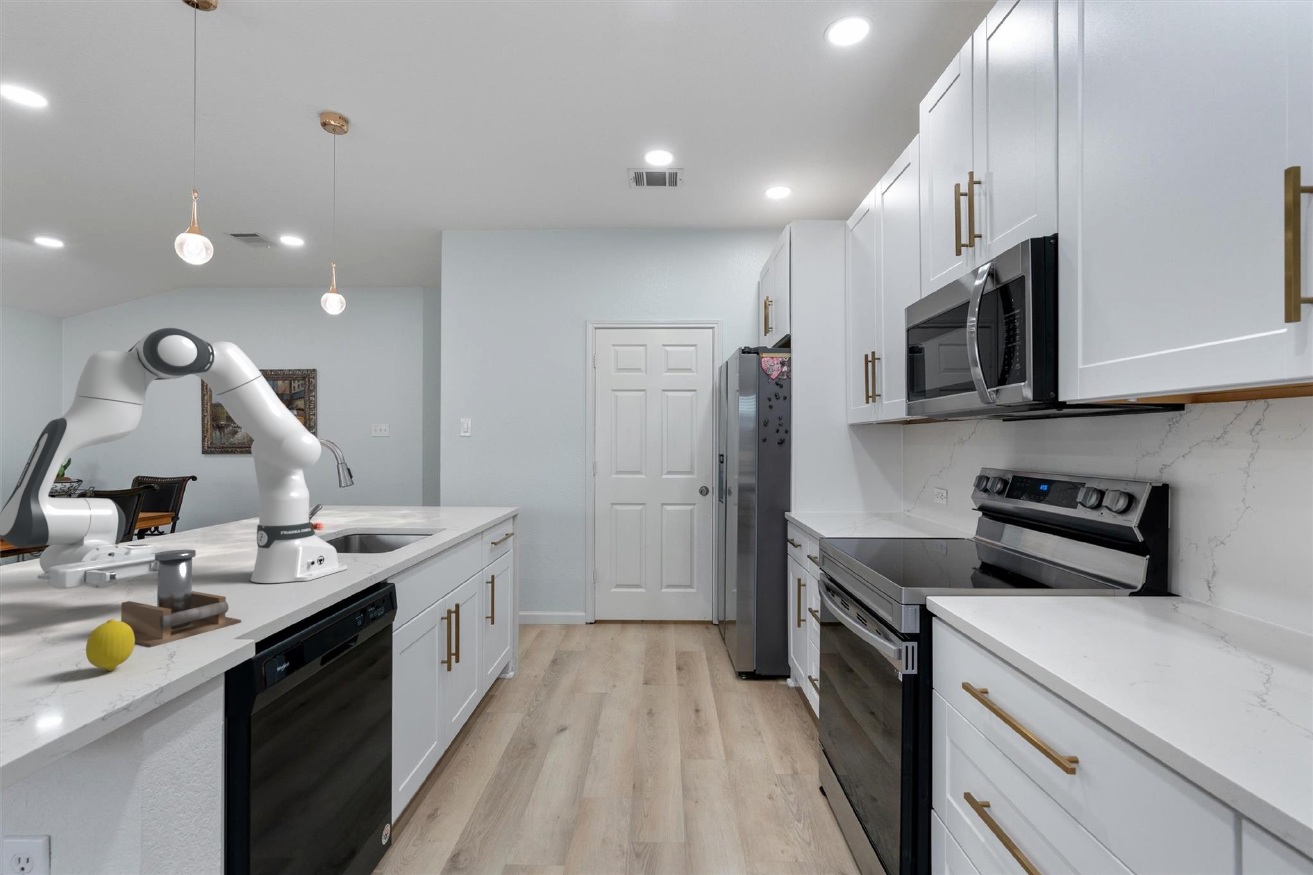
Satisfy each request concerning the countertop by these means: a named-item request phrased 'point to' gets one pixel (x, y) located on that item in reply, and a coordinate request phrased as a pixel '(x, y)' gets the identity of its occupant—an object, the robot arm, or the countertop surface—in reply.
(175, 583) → the hinge pin
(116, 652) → the lemon
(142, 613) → the brown wooden holder
